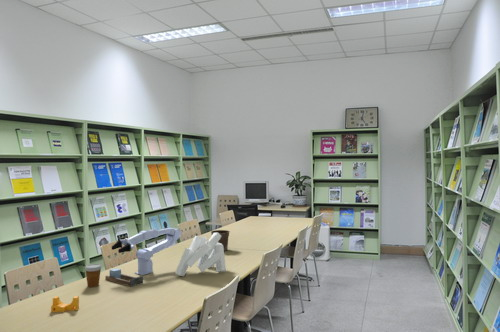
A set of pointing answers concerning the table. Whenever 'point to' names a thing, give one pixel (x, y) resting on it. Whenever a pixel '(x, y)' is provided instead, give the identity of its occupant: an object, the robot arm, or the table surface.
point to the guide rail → (131, 283)
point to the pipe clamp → (64, 305)
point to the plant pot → (223, 237)
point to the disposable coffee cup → (93, 274)
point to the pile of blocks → (203, 254)
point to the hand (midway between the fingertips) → (115, 249)
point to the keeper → (115, 273)
